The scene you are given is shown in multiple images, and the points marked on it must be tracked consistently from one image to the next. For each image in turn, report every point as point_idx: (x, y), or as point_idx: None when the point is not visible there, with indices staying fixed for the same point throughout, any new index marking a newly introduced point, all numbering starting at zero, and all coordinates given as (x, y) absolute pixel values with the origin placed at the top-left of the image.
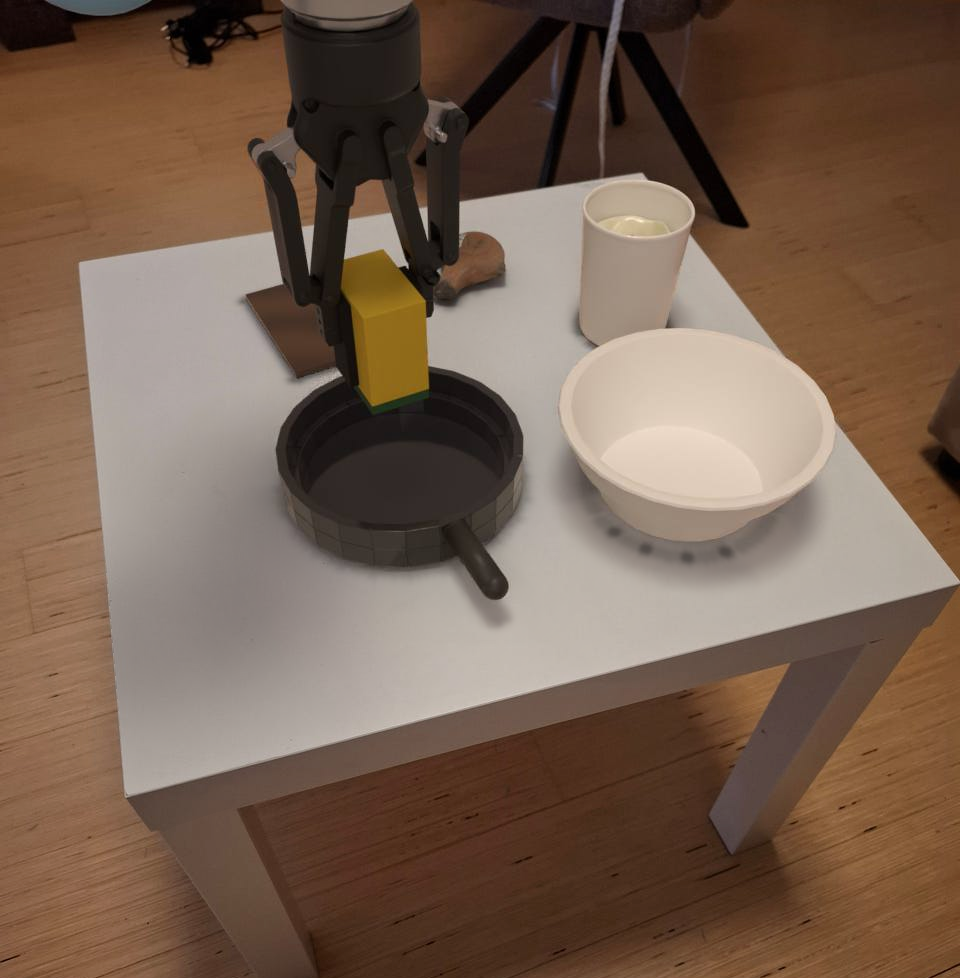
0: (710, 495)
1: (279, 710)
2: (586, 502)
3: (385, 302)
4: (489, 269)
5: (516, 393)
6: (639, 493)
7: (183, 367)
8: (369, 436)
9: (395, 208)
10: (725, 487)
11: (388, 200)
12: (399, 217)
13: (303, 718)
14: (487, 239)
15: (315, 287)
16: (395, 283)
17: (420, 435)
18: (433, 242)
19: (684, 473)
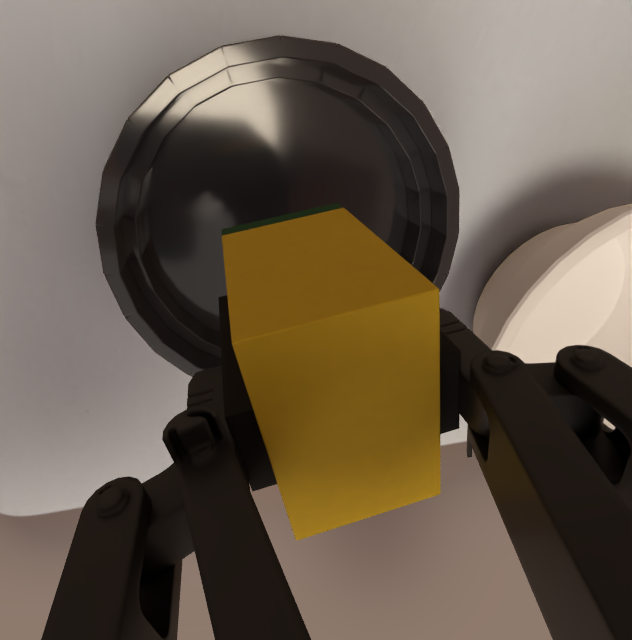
0: (559, 326)
1: (119, 472)
2: (458, 302)
3: (359, 498)
4: None
5: (486, 84)
6: None
7: None
8: (254, 130)
9: (566, 617)
10: (577, 319)
11: (578, 588)
12: (548, 596)
13: (141, 478)
14: None
15: (193, 551)
16: (406, 442)
17: (327, 151)
18: (572, 407)
19: (560, 295)
